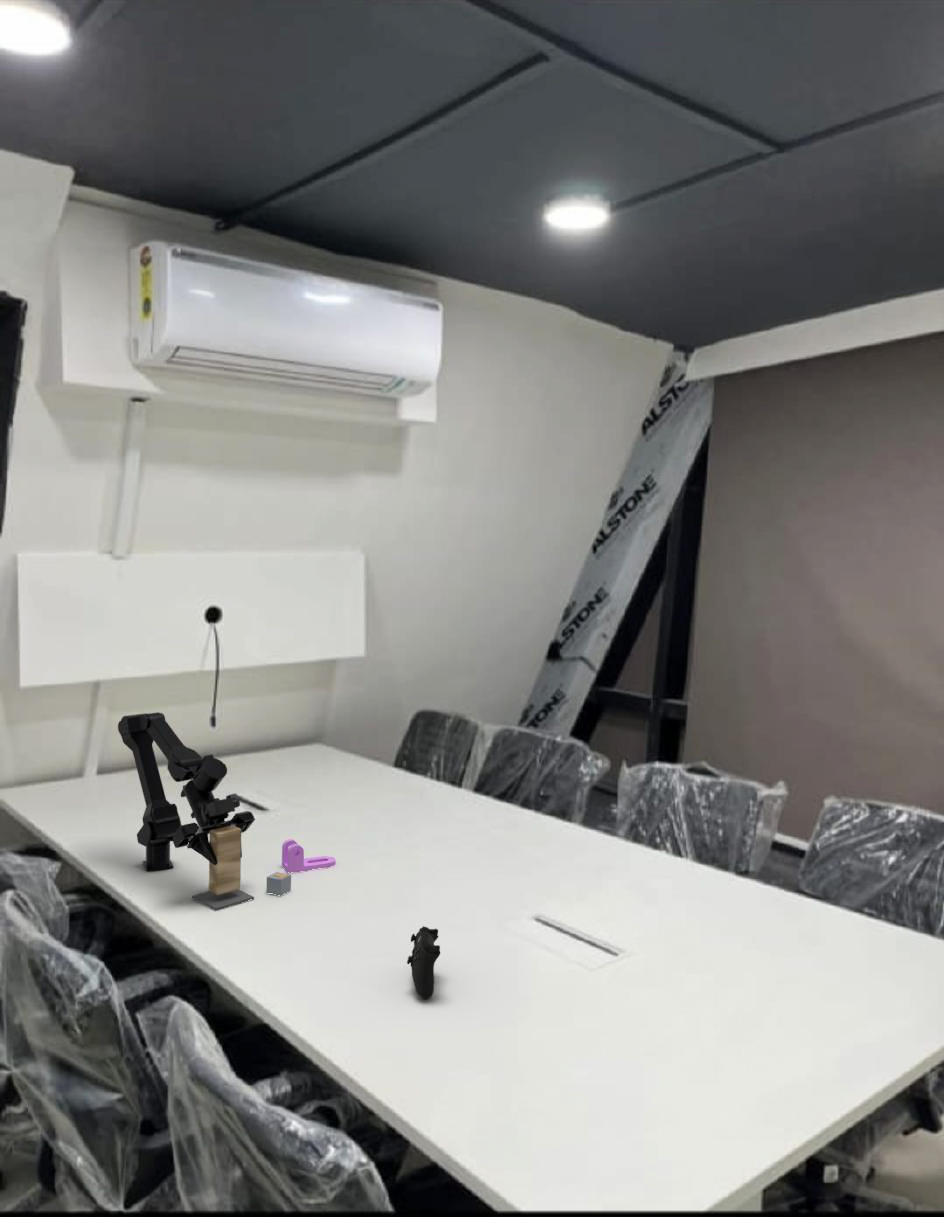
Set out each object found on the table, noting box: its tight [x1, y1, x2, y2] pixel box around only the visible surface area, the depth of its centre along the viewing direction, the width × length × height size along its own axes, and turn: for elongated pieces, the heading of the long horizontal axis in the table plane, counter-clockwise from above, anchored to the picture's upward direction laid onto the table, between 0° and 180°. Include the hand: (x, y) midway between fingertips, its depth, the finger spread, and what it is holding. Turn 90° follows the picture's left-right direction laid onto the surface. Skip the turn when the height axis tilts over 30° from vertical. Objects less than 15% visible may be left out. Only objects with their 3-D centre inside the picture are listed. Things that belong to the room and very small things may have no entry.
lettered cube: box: [266, 871, 292, 897], centre depth 232 cm, size 4×4×4 cm
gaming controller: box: [406, 926, 441, 1000], centre depth 187 cm, size 14×6×10 cm, turn 5°
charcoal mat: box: [191, 889, 255, 911], centre depth 227 cm, size 10×10×1 cm
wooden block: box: [208, 825, 242, 895], centre depth 226 cm, size 4×6×14 cm, turn 137°
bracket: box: [281, 838, 337, 874], centre depth 250 cm, size 13×6×7 cm, turn 119°
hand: (228, 860), depth 225 cm, fingers closed on wooden block, 6 cm apart
